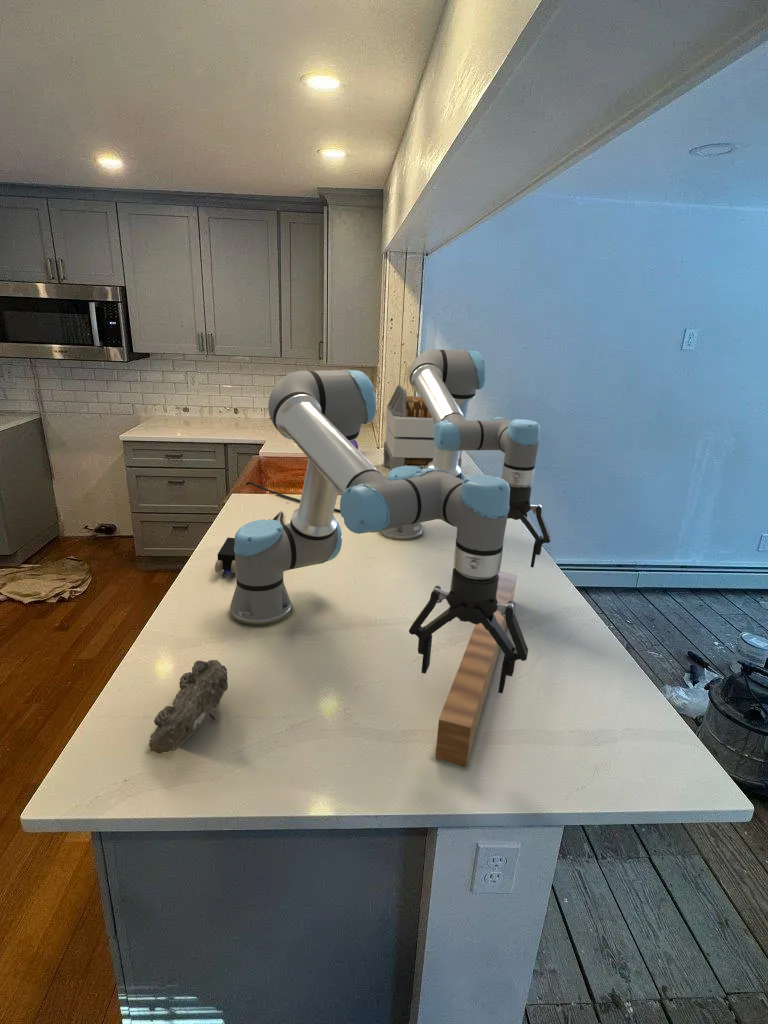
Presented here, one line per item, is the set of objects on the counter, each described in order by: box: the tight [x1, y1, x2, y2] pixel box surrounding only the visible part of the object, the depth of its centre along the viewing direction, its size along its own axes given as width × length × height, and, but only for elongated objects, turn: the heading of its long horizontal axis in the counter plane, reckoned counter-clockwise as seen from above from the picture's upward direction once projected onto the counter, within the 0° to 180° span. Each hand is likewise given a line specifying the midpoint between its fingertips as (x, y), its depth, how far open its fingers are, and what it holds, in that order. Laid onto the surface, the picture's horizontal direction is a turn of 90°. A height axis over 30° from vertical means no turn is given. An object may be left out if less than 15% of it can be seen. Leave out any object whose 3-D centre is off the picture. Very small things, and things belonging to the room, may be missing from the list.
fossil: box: [148, 659, 229, 754], centre depth 106 cm, size 22×10×15 cm
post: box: [434, 570, 518, 768], centre depth 127 cm, size 64×6×8 cm, turn 161°
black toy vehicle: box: [214, 537, 236, 578], centre depth 166 cm, size 7×8×15 cm
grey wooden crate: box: [383, 384, 463, 471], centre depth 268 cm, size 34×33×41 cm
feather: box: [272, 510, 283, 521], centre depth 212 cm, size 2×28×2 cm
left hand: (462, 678), depth 100 cm, fingers open, 13 cm apart
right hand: (505, 560), depth 148 cm, fingers open, 13 cm apart
